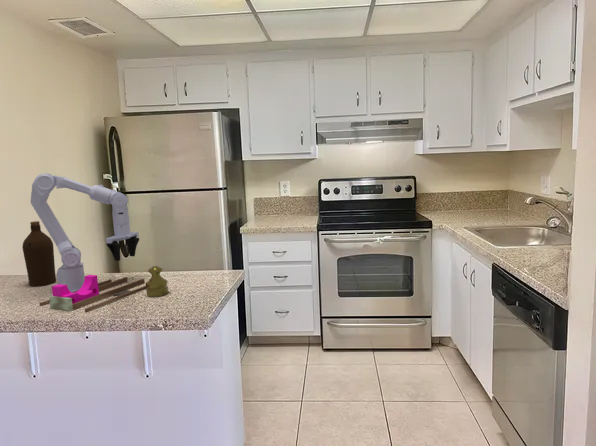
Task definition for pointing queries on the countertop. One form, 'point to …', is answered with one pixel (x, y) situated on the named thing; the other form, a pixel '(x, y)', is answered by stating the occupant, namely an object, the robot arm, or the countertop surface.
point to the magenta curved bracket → (83, 293)
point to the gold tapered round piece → (156, 283)
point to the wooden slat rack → (66, 303)
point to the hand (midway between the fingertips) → (125, 258)
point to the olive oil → (39, 257)
